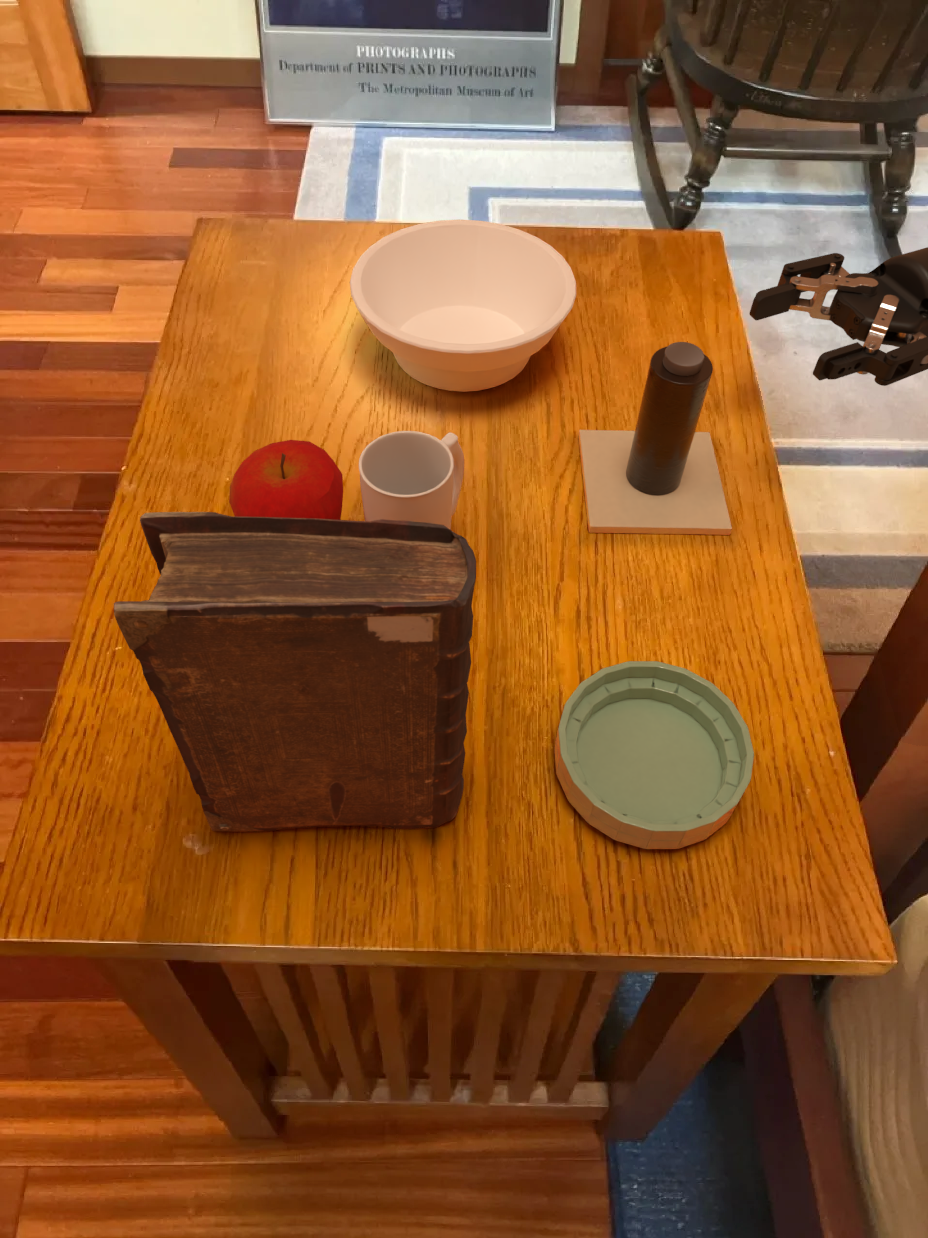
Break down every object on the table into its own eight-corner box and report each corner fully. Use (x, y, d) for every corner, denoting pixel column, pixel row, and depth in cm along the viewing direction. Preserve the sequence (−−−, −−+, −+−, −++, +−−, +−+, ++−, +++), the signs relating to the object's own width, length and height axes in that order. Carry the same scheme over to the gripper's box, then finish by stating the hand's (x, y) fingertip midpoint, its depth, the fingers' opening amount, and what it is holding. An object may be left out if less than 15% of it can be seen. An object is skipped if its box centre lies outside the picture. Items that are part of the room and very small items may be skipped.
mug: (415, 618, 73) (411, 511, 63) (351, 576, 75) (338, 467, 65) (492, 543, 78) (500, 433, 68) (430, 506, 80) (429, 395, 70)
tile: (707, 438, 86) (709, 431, 85) (730, 535, 79) (732, 528, 78) (578, 435, 86) (579, 429, 85) (588, 532, 78) (589, 526, 78)
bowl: (333, 408, 87) (324, 334, 81) (380, 280, 100) (376, 207, 93) (556, 436, 86) (566, 363, 79) (575, 303, 98) (585, 230, 92)
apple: (297, 507, 79) (277, 398, 70) (373, 552, 77) (364, 444, 67) (225, 569, 75) (195, 462, 66) (304, 618, 72) (283, 514, 63)
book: (467, 765, 65) (481, 521, 45) (458, 862, 61) (468, 639, 41) (232, 743, 66) (142, 492, 46) (206, 837, 61) (95, 606, 41)
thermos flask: (690, 472, 82) (726, 349, 72) (664, 503, 80) (698, 381, 69) (642, 449, 84) (671, 326, 73) (615, 480, 81) (642, 357, 71)
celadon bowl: (769, 746, 66) (784, 721, 64) (687, 891, 60) (699, 870, 57) (611, 658, 71) (618, 631, 68) (518, 784, 64) (522, 760, 61)
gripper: (899, 208, 80) (745, 249, 76) (1022, 297, 73) (859, 348, 68) (867, 285, 86) (722, 327, 82) (978, 375, 79) (825, 427, 74)
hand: (785, 337), depth 75 cm, fingers open, 8 cm apart
